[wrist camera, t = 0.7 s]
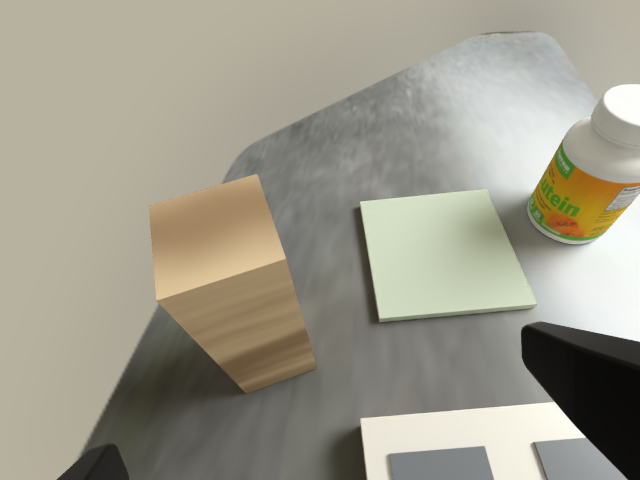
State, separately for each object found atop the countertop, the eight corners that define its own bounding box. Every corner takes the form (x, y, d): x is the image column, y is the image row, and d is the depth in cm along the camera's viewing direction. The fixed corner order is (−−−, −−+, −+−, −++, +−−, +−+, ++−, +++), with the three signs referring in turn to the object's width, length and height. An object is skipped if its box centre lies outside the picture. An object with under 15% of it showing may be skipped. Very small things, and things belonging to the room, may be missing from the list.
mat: (533, 308, 24) (537, 304, 24) (379, 322, 25) (379, 318, 24) (484, 194, 30) (486, 188, 30) (360, 206, 30) (360, 201, 30)
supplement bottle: (510, 204, 29) (566, 92, 21) (567, 182, 30) (641, 67, 22) (560, 256, 26) (646, 149, 18) (621, 231, 27) (730, 117, 19)
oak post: (316, 368, 23) (285, 258, 13) (246, 393, 23) (156, 300, 12) (296, 305, 26) (257, 173, 16) (232, 327, 25) (148, 205, 15)
